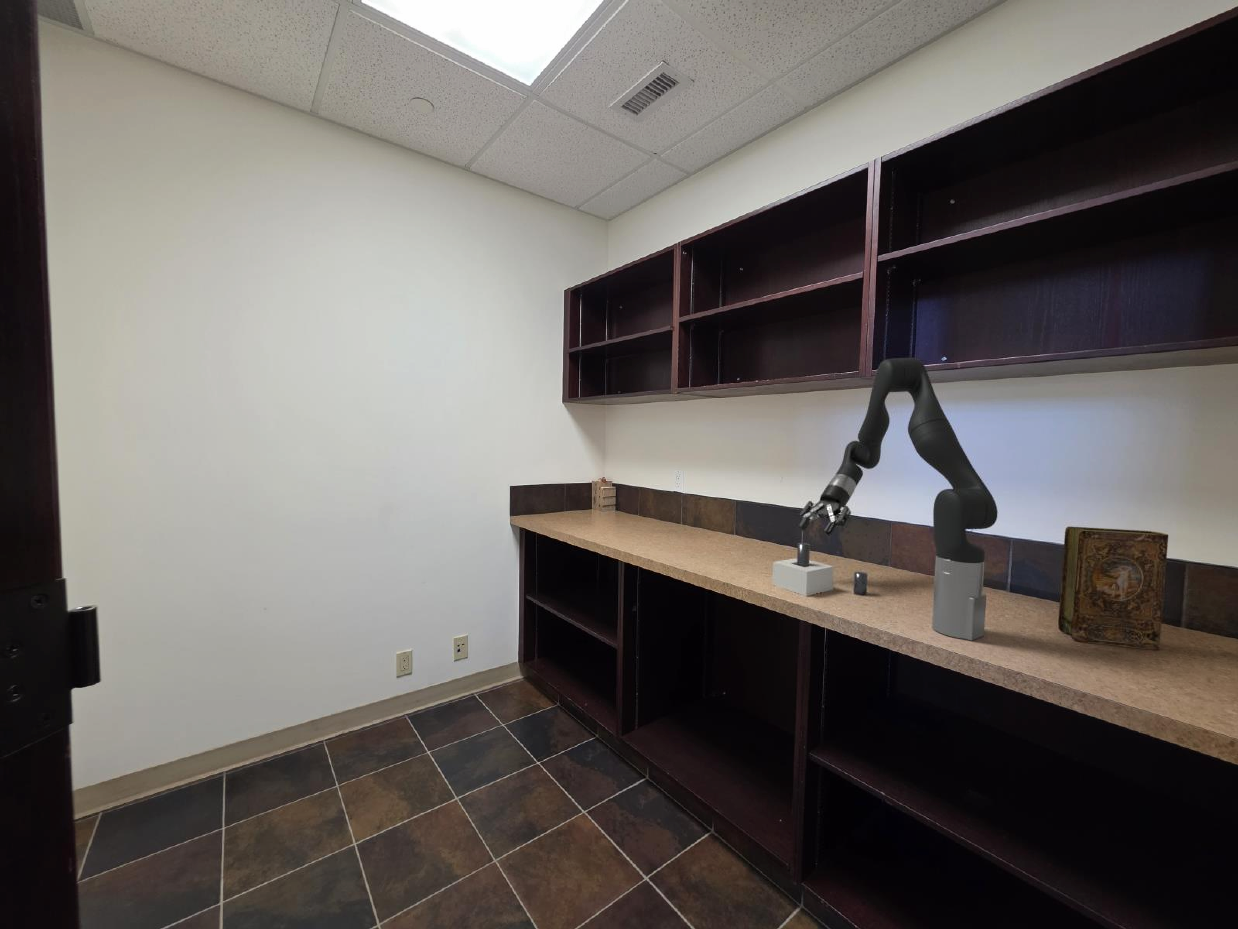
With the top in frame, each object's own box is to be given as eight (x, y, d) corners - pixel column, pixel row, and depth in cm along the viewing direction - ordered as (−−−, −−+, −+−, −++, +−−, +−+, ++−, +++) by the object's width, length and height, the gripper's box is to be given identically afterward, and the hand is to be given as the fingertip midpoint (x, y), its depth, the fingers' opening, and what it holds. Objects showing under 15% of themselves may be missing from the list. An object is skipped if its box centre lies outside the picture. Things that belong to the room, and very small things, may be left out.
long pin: (810, 588, 146) (812, 544, 146) (803, 589, 145) (804, 545, 144) (801, 585, 149) (802, 542, 149) (793, 586, 148) (795, 543, 147)
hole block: (832, 590, 145) (833, 566, 145) (806, 596, 139) (807, 571, 138) (798, 579, 155) (799, 557, 155) (772, 585, 149) (773, 562, 148)
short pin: (869, 594, 141) (870, 573, 141) (862, 596, 140) (863, 575, 139) (857, 591, 144) (858, 571, 144) (850, 593, 143) (851, 572, 142)
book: (1146, 641, 111) (1154, 531, 110) (1164, 651, 106) (1174, 535, 104) (1057, 631, 116) (1064, 526, 114) (1071, 641, 110) (1078, 530, 109)
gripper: (813, 481, 158) (788, 520, 153) (855, 486, 146) (829, 527, 141) (823, 497, 161) (799, 535, 156) (864, 502, 149) (840, 544, 144)
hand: (813, 531), depth 148 cm, fingers open, 8 cm apart
